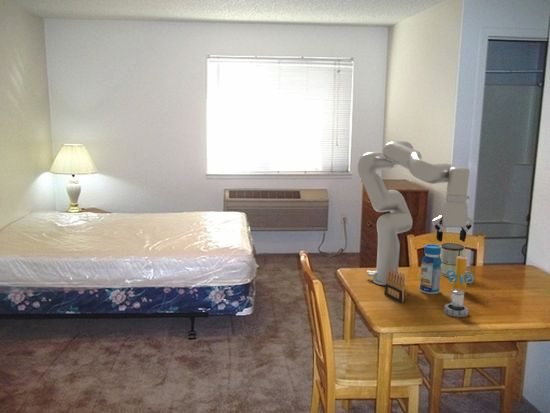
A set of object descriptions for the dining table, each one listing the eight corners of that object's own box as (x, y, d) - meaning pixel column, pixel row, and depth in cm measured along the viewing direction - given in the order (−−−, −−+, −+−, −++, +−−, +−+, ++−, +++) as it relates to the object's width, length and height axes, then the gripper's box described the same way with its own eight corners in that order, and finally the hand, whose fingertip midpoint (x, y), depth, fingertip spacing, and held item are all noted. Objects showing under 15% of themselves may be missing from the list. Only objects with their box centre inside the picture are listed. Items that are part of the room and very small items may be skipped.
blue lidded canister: (441, 295, 215) (444, 249, 212) (420, 293, 217) (423, 248, 213) (438, 288, 224) (441, 244, 220) (418, 287, 225) (421, 243, 221)
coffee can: (438, 270, 250) (440, 242, 248) (460, 271, 248) (462, 243, 246) (440, 276, 241) (442, 247, 238) (463, 278, 238) (465, 249, 236)
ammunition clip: (404, 302, 206) (406, 274, 204) (401, 303, 205) (403, 274, 203) (388, 294, 216) (389, 266, 213) (384, 294, 215) (386, 267, 213)
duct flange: (443, 315, 193) (443, 309, 193) (443, 307, 202) (444, 301, 201) (468, 319, 190) (469, 313, 190) (468, 310, 199) (468, 304, 198)
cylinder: (474, 297, 214) (477, 262, 211) (448, 294, 216) (451, 260, 213) (469, 287, 226) (472, 254, 223) (444, 285, 228) (447, 253, 225)
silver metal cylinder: (447, 309, 198) (449, 289, 196) (458, 308, 199) (460, 288, 197) (453, 313, 193) (455, 293, 192) (465, 313, 194) (466, 293, 193)
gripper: (471, 196, 204) (466, 238, 208) (430, 196, 201) (426, 238, 205) (481, 200, 197) (475, 243, 200) (439, 200, 194) (434, 243, 198)
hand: (450, 240), depth 203 cm, fingers open, 9 cm apart
